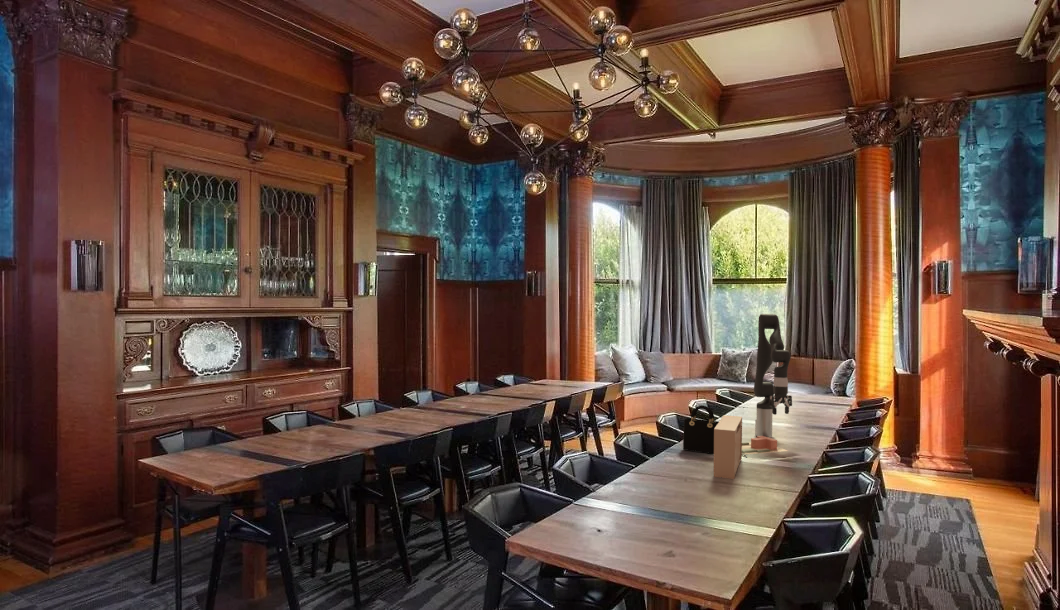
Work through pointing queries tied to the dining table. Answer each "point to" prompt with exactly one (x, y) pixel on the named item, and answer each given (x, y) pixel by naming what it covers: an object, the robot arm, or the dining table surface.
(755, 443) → the t block
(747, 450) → the board
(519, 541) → the dining table surface
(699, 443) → the handbag
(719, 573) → the dining table surface
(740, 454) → the box
